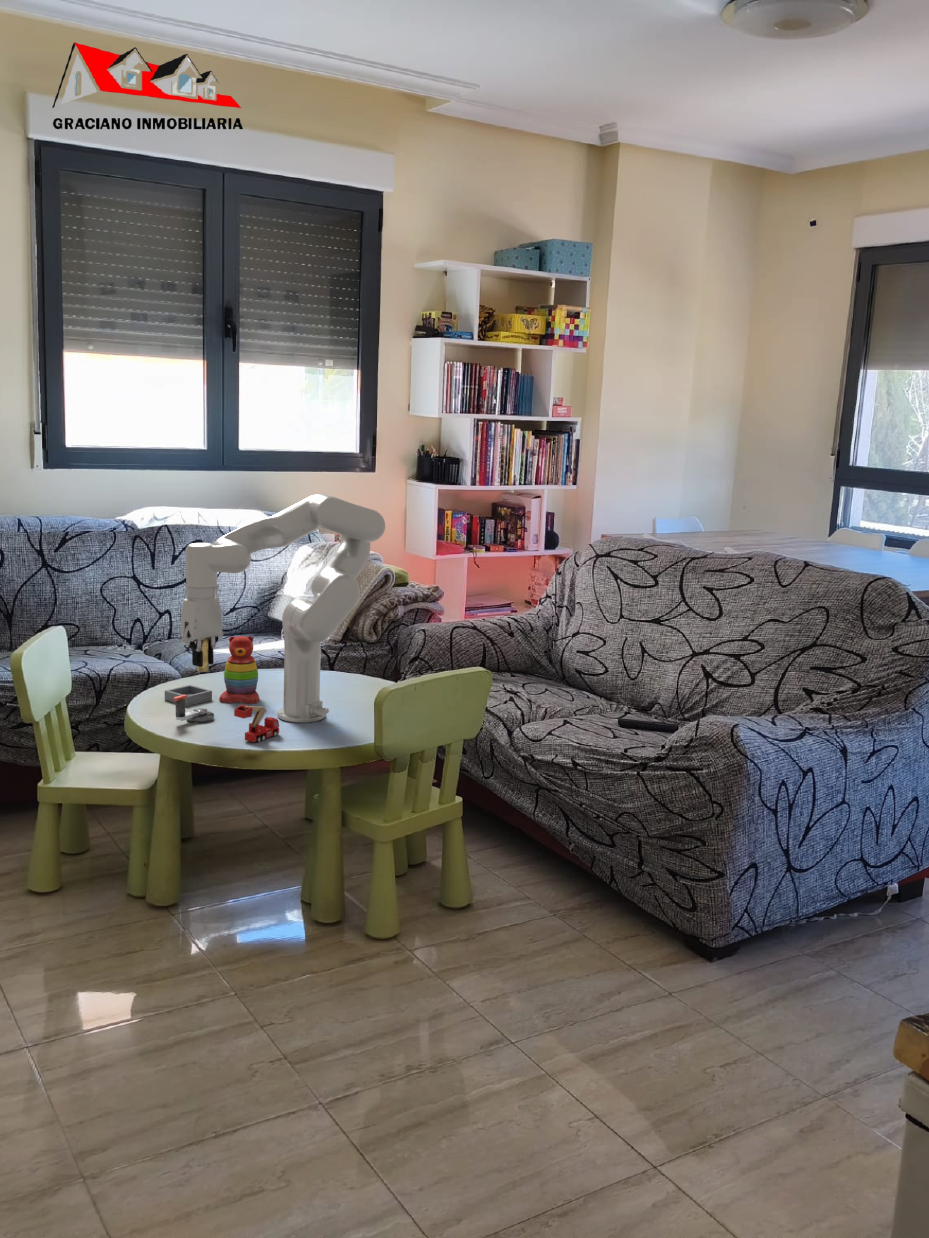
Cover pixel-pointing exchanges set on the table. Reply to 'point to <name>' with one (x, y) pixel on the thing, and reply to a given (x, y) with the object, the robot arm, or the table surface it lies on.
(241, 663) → the stacking bear
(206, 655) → the pin
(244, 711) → the toy fire truck
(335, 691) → the table surface
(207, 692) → the tray
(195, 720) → the hub
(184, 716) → the crank
